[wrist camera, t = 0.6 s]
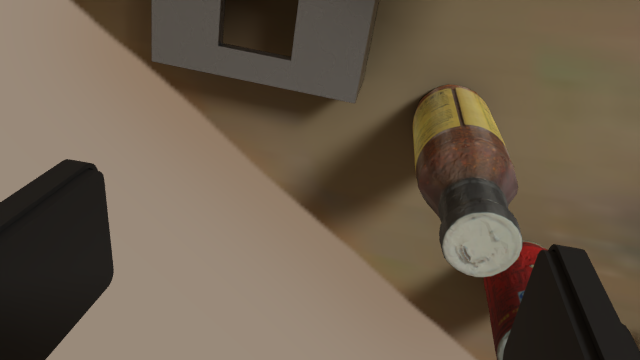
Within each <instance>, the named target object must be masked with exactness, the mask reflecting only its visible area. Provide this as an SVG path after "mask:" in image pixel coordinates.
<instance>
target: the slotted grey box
mask: <svg viewBox="0 0 640 360" xmlns="http://www.w3.org/2000/svg"><path fill="white" fill-rule="evenodd" d="M378 4H379V0H299V2H298V10H297V18H296V25H295V33H294V41H293V49H292V57H289V56H284V55H279V54H274V53H269V52H264V51H259V50H254V49H249V48H244V47H239V46H235V45H230V44H225V43H223V28H224V12H225V0H152V61H153V62H158V63H163V64H168V65H173V66H177V67H182V68H187V69H192V70H197V71H201V72H206V73H211V74H216V75H221V76H226V77H230V78H235V79H240V80H245V81H250V82H255V83H259V84H264V85H269V86H274V87H279V88H283V89H288V90H293V91H298V92H303V93H308V94H312V95H317V96H322V97H327V98H332V99H336V100H341V101H346V102H351V103H355V102H356V99H357V96H358V94H359V91H360V88H361V86H362V83H363V80H364V75H365V70H366V65H367V60H368V54H369V49H370V44H371V39H372V34H373V29H374V24H375V19H376V14H377V9H378Z"/></svg>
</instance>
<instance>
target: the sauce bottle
mask: <svg viewBox="0 0 640 360" xmlns="http://www.w3.org/2000/svg"><path fill="white" fill-rule="evenodd" d="M413 140H414V155H415V171H416V179H417V183H418V187H419V190H420V192H421V194H422V196H423V198H424V200H425V201H426V202H427V204H428V205H429V206H430V207H431V208H432V209H433V211H434V212H435V213H436V214H437V215H438V216H439V218H440V220H441V222H442V223H441V225H440V231H439V236H440V239H439V240H440V244H441V248H442V252H443V255H444V258H445V259H446V260H447V262H448V263H449V264H450V265H451V266H452V267H454V268H455V269H456V270H458V271H460V272H462V273H464V274H466V275H470V276H474V277H488V276H493V275H495V274H498V273H500V272H503V271H505V270H506V269H508V268H509V267H510V266H511V265H512V264H513V263H514V262H515V261H516V260H517V258H518V257H519V255H520V252H521V250H522V246H523V245H522V243H523V242H522V235H521V232H520V228H519V225H518V222H517V220H516V218H515V217H514V215H513V214H512V213H511V212H510V211H509V210H508V205H509V203H510V202H511V200H512V199H513V198H514V197H515V195H516V194H517V190H518V184H517V179H516V175H515V170H514V166H513V164H512V162H511V160H510V156H509V152H508V150H507V148H506V146H505V143H504V141H503V139H502V137H501V135H500V133H499V130H498V128H497V126H496V124H495V122H494V120H493V117H492V115H491V113H490V110H489V109H488V107H487V105H486V104H485V102H484V101H483V100H482V99H481V98H480V96H479V95H478V94H477V93H476V92H474V91H472V90H470V89H468V88H465V87H461V86H456V85H449V84H448V85H444V86H440V87H438V88H435V89H434V90H433V91H431V92H430V93H428V94H427V95H426V96H424V97H423V98H422V99H421V100H420V102H419V105H418V107H417V109H416V112H415V115H414V120H413Z"/></svg>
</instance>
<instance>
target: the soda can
mask: <svg viewBox="0 0 640 360" xmlns="http://www.w3.org/2000/svg"><path fill="white" fill-rule="evenodd" d="M522 242H523V243H522V245H523V246H522V250H521V252H520V255H519V257H518V258H517V260H516V261H515V262H514V263H513V264H512V265H511V266H510V267H509V268H508V269H506V270H505V271H503V272H500V273H498V274H495V275H493V276H488V277H484V285H485V290H486V295H487V301H488V307H489V312H490V321H491V327H492V333H493V339H494V345H495V351H496V356H497V360H503V353H504V348H505V345H506V342H507V339H508V336H509V334H510V331H511V328H512V325H513V322H514V320H515V317H516V314H517V311H518V308H519V306H520V303H521V300H522V297H523V294H524V292H525V289H526V286H527V283H528V280H529V278H530V275H531V272H532V269H533V266H534V264H535V261H536V258H537V255H538V253H539V252H540V250H547V249H545V248H543V247H542V246H540V245H538V244H536V243H533V242H530V241H522Z"/></svg>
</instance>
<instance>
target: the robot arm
mask: <svg viewBox="0 0 640 360" xmlns="http://www.w3.org/2000/svg"><path fill="white" fill-rule="evenodd" d="M112 277H113V260H112V250H111V241H110V232H109V222H108V212H107V202H106V193H105V183H104V177H103V174H102V173H101V172H100V171H98V170H97V168H96V166H95V165H94V164H92V163H86V162H81V161H75V160H68V159H66V160H64V161H62V162H60V163H59V164H57V165H56V166H54V167H53V168H51V169H50V170H48V171H47V172H45V173H44V174H42V175H41V176H39V177H38V178H36V179H35V180H33V181H32V182H30V183H29V184H27V185H26V186H24V187H23V188H21V189H20V190H19V191H17V192H15V193H14V194H12V195H11V196H10V197H8V198H7V199H5V200H4V201H2V202H0V360H45V359H46V358H47V357H48V356H49V355H50V354H51V352H52V351H53V350H54V349H55V348H56V347H57V346H58V344H59V343H60V342H61V341H62V340H63V338H64V337H65V336H66V335H67V334H68V333H69V332H70V330H71V329H72V328H73V327H74V326H75V324H76V323H77V322H78V321H79V320H80V319H81V318H82V316H83V315H84V314H85V313H86V312H87V311H88V309H89V308H90V307H91V306H92V305H93V304H94V303H95V301H96V300H97V299H98V298H99V297H100V296H101V294H102V293H103V292H104V291H105V290H106V289H107V287H108V286H109V285H110V283H111V281H112ZM503 360H640V351H639V349H638V347H637V345H636V343H635V341H634V339H633V337H632V335H631V333H630V332H629V330H628V329H627V327H626V326H625V325H623V324H622V323H621V322H620V320H619V318H618V315H617V313H616V311H615V309H614V307H613V305H612V303H611V301H610V299H609V297H608V295H607V293H606V291H605V289H604V287H603V285H602V283H601V281H600V279H599V277H598V275H597V273H596V271H595V269H594V267H593V265H592V263H591V261H590V259H589V257H588V255H587V253H586V252H585V250H583V249H578V248H572V247H567V246H561V245H555V244H553V245H552V246H551V247H550V248H549V250H540V252H539V253H538V255H537V258H536V261H535V264H534V266H533V269H532V272H531V275H530V278H529V280H528V283H527V286H526V289H525V292H524V294H523V297H522V300H521V303H520V306H519V308H518V311H517V314H516V317H515V320H514V322H513V325H512V328H511V331H510V334H509V336H508V339H507V342H506V345H505V348H504V353H503Z"/></svg>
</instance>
